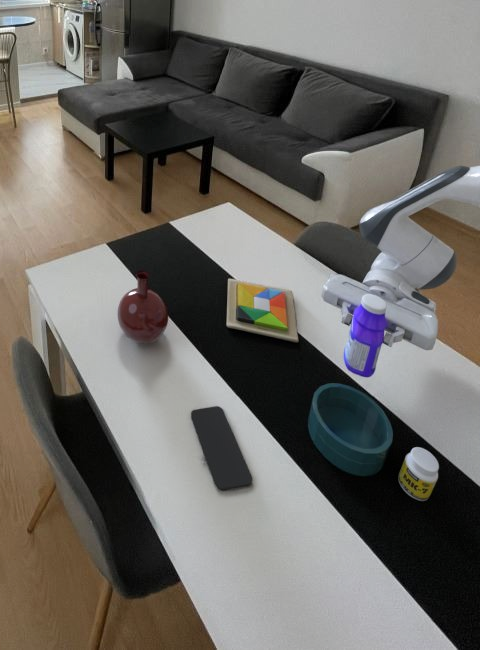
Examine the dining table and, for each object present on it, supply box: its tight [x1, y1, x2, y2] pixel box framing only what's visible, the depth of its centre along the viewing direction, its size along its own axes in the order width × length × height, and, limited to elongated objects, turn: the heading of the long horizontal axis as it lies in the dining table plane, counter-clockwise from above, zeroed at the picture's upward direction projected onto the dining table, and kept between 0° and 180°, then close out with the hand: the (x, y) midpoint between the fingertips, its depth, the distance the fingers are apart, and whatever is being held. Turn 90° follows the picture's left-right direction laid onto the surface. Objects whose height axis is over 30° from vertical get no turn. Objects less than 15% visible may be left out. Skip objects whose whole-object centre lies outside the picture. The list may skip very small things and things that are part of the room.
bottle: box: [343, 294, 387, 378], centre depth 87 cm, size 7×6×17 cm
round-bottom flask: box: [116, 269, 169, 344], centre depth 110 cm, size 13×13×20 cm
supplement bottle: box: [397, 446, 440, 502], centre depth 78 cm, size 5×5×8 cm
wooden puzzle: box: [226, 278, 299, 343], centre depth 118 cm, size 18×19×4 cm
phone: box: [190, 405, 253, 492], centre depth 87 cm, size 7×1×15 cm
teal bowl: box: [307, 382, 394, 477], centre depth 86 cm, size 14×14×7 cm
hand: (366, 332), depth 86 cm, fingers closed on bottle, 6 cm apart
